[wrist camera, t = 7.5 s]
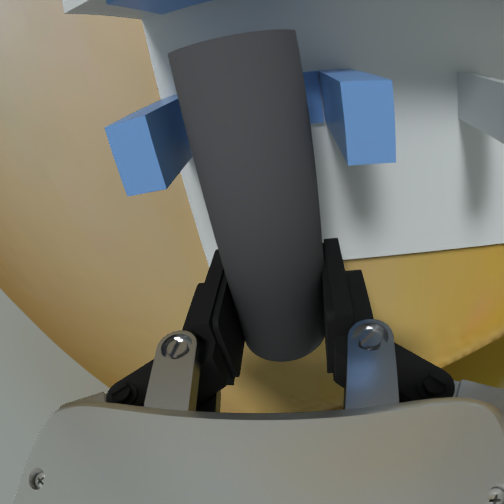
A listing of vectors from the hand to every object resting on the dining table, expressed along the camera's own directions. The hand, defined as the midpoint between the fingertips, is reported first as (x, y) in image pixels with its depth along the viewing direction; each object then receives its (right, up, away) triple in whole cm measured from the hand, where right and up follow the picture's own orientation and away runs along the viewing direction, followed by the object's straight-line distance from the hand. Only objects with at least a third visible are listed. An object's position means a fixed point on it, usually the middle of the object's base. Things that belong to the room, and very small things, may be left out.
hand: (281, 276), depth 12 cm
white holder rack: (+5, +8, -3) cm, 10 cm away
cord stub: (-1, +3, -2) cm, 4 cm away
